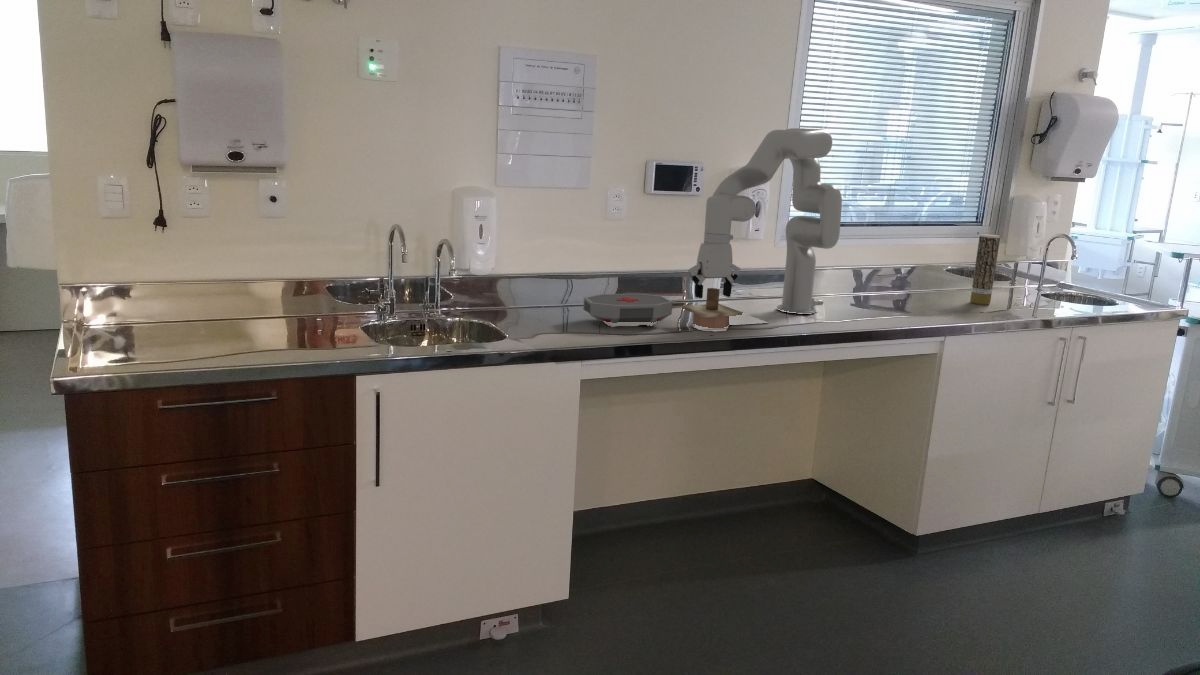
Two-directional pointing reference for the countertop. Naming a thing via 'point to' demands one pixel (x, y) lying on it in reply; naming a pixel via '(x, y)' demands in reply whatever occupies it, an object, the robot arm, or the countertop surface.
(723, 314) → the cover
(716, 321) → the bowl
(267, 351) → the countertop surface
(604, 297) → the first aid kit
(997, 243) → the bark textured cylinder
